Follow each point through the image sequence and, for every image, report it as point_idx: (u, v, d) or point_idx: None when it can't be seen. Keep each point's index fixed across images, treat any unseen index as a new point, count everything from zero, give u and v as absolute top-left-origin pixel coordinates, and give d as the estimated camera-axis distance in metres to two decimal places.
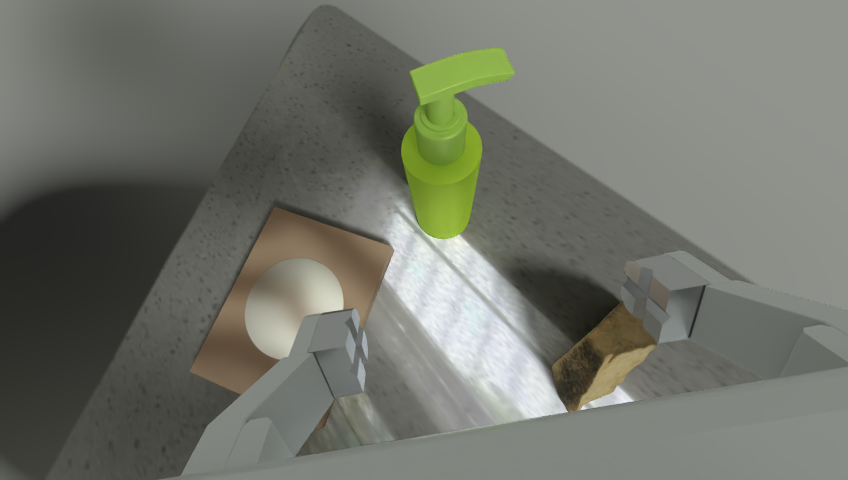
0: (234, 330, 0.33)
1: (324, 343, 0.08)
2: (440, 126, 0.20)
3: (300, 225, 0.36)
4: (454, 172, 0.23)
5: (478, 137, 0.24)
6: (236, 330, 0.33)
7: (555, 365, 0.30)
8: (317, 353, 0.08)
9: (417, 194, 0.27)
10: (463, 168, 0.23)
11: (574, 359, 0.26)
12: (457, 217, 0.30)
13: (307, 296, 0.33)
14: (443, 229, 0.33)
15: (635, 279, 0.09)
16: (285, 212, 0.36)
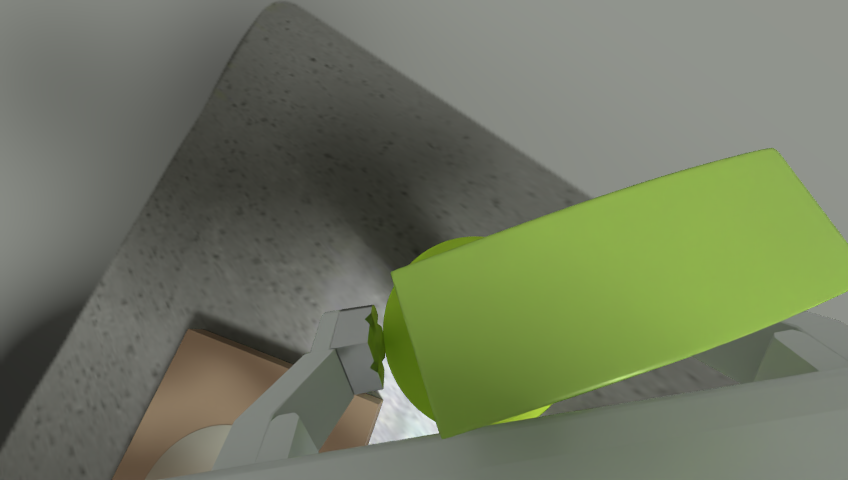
0: None
1: (345, 339, 0.08)
2: None
3: (229, 363, 0.22)
4: None
5: None
6: None
7: None
8: (339, 349, 0.08)
9: None
10: None
11: None
12: None
13: None
14: None
15: None
16: (205, 339, 0.22)
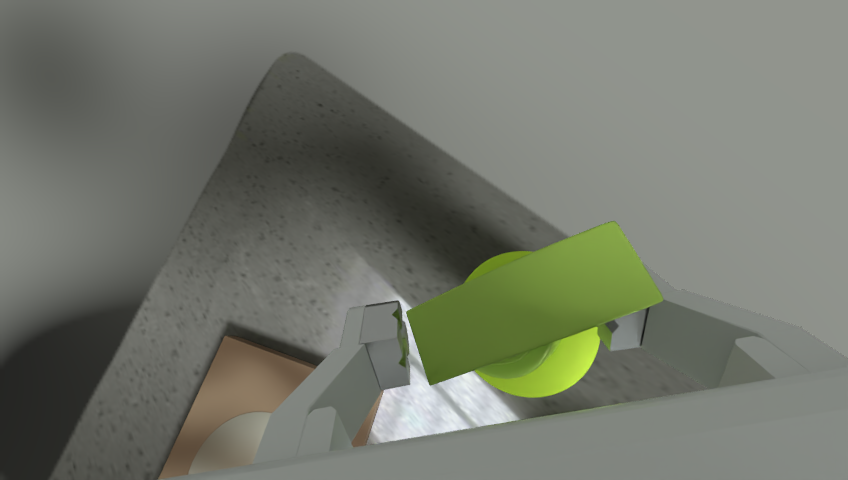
0: None
1: (374, 334, 0.08)
2: None
3: (259, 362, 0.27)
4: (550, 377, 0.13)
5: None
6: None
7: None
8: (368, 344, 0.08)
9: None
10: (567, 368, 0.12)
11: None
12: None
13: None
14: None
15: None
16: (239, 344, 0.28)
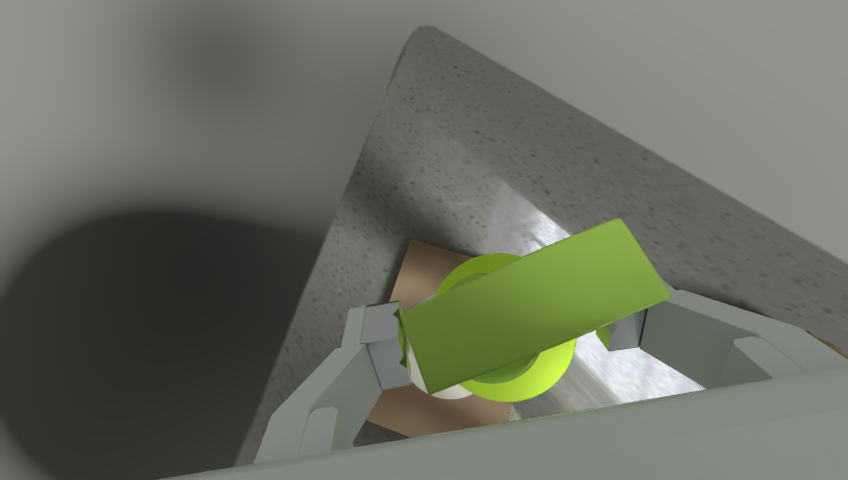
0: None
1: (375, 334, 0.08)
2: None
3: (441, 257, 0.35)
4: (529, 380, 0.13)
5: None
6: None
7: None
8: (369, 344, 0.08)
9: None
10: (545, 370, 0.12)
11: None
12: None
13: None
14: None
15: None
16: (423, 244, 0.35)
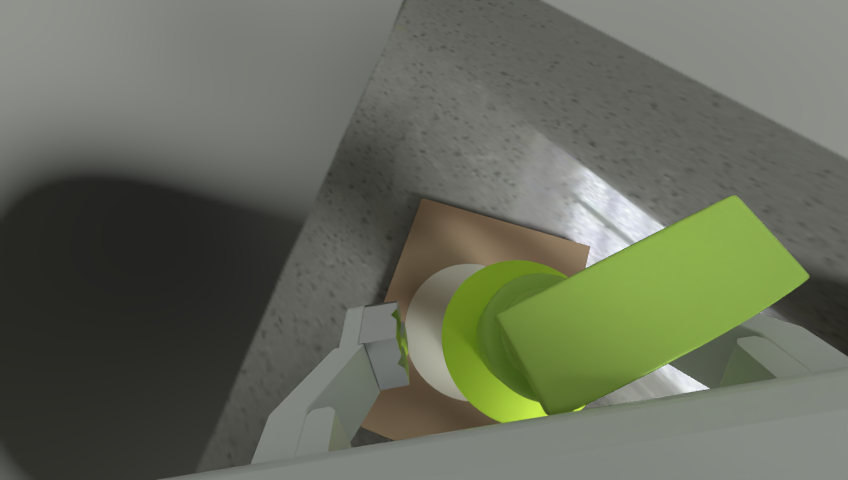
0: None
1: (373, 335, 0.08)
2: None
3: (461, 221, 0.27)
4: None
5: None
6: None
7: None
8: (367, 344, 0.08)
9: None
10: None
11: None
12: None
13: None
14: None
15: None
16: (438, 204, 0.28)
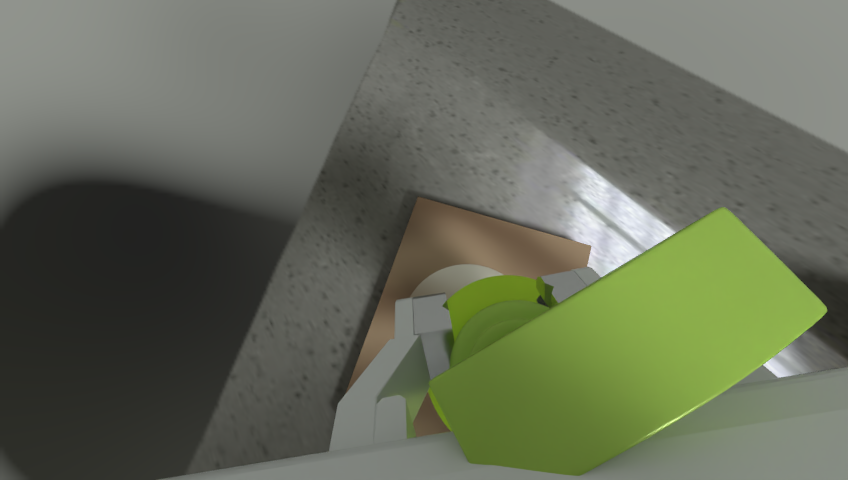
0: None
1: (428, 325, 0.08)
2: None
3: (458, 220, 0.27)
4: None
5: None
6: None
7: None
8: (423, 335, 0.08)
9: None
10: None
11: None
12: None
13: None
14: None
15: (542, 295, 0.09)
16: (434, 203, 0.27)
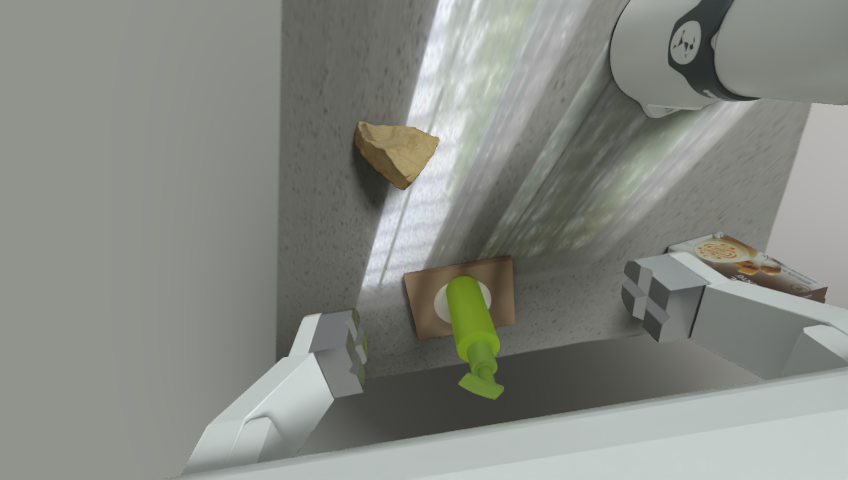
0: None
1: (324, 343, 0.08)
2: (491, 367, 0.41)
3: (420, 323, 0.59)
4: (487, 337, 0.44)
5: (462, 340, 0.44)
6: None
7: None
8: (317, 353, 0.08)
9: None
10: (482, 336, 0.44)
11: None
12: (477, 298, 0.50)
13: None
14: (480, 291, 0.53)
15: (635, 279, 0.09)
16: (418, 333, 0.61)
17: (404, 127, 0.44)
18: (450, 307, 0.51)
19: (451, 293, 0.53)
